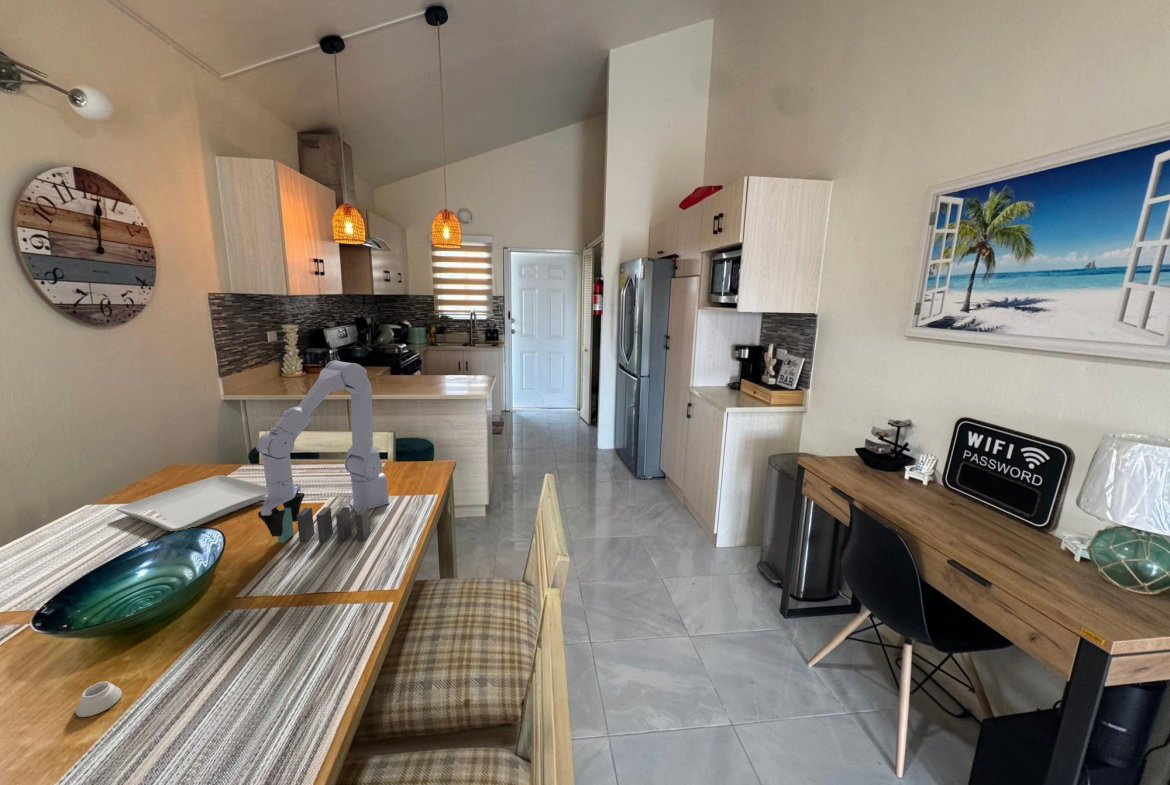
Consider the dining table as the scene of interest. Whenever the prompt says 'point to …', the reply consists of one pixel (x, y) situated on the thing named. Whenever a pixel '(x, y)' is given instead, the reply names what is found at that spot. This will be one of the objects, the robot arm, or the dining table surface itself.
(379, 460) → the robot arm
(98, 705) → the small white bowl
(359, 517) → the tile
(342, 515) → the tile
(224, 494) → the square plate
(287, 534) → the tile
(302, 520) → the tile
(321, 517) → the tile
